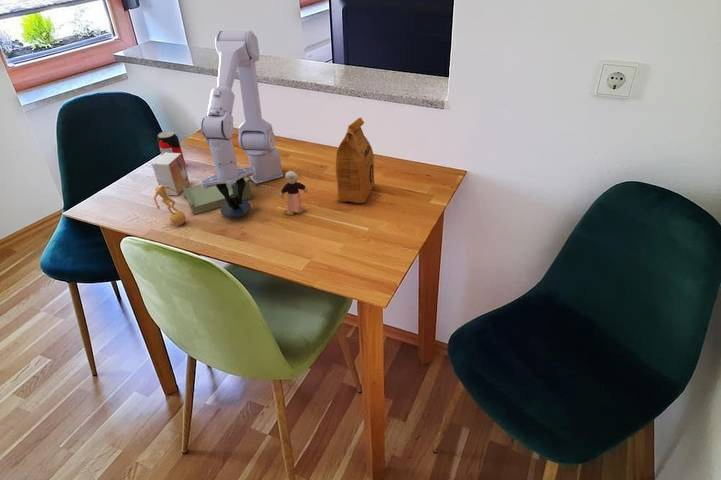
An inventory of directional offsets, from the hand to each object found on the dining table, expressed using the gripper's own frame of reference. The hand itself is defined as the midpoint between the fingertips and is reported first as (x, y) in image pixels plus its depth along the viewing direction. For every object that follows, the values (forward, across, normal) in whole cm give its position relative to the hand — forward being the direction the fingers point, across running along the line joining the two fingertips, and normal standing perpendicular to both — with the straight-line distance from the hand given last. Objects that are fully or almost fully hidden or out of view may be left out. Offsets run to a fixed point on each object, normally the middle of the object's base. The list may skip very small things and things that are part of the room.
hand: (234, 204), depth 133 cm
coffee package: (+4, +34, -9) cm, 35 cm away
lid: (+2, 0, 0) cm, 2 cm away
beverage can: (+4, -9, +39) cm, 41 cm away
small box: (+4, -12, +24) cm, 27 cm away
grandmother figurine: (+4, +15, -8) cm, 17 cm away
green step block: (+3, -2, +12) cm, 13 cm away
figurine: (+3, -16, +4) cm, 17 cm away
